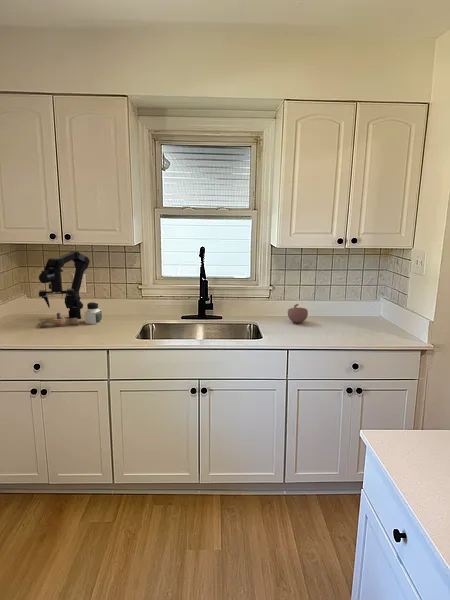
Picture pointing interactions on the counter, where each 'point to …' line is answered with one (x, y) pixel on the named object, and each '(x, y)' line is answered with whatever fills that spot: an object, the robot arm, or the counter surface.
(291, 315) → the reddish brown apple
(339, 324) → the counter surface
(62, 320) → the ring
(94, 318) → the medicine bottle
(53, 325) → the hook board
